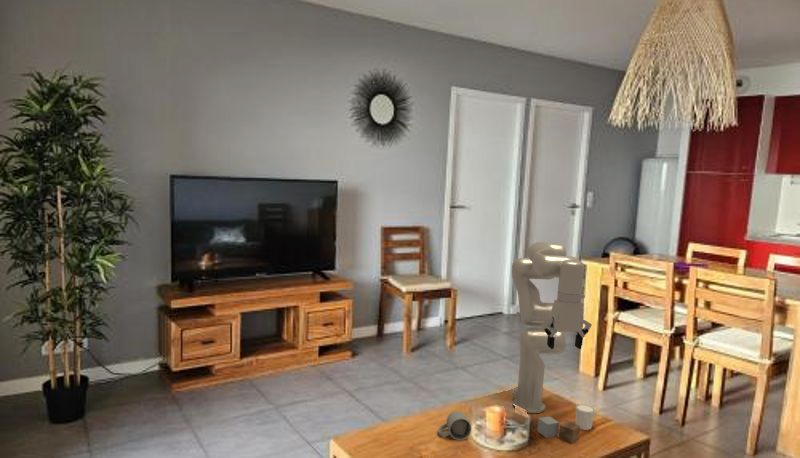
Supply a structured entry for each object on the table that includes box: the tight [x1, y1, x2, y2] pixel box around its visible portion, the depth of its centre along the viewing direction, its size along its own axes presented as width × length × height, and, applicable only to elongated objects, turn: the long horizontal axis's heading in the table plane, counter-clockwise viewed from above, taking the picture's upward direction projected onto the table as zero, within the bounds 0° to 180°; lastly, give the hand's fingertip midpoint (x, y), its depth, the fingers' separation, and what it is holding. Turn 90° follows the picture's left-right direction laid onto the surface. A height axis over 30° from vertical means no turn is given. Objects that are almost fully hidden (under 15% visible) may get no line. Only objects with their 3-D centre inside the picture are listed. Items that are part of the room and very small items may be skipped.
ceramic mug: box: [437, 410, 472, 441], centre depth 187 cm, size 11×8×8 cm
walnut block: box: [558, 420, 580, 445], centre depth 189 cm, size 5×5×5 cm
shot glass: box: [574, 404, 596, 431], centre depth 199 cm, size 7×7×7 cm
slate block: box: [536, 415, 560, 439], centre depth 192 cm, size 5×5×5 cm
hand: (564, 347), depth 180 cm, fingers open, 9 cm apart
